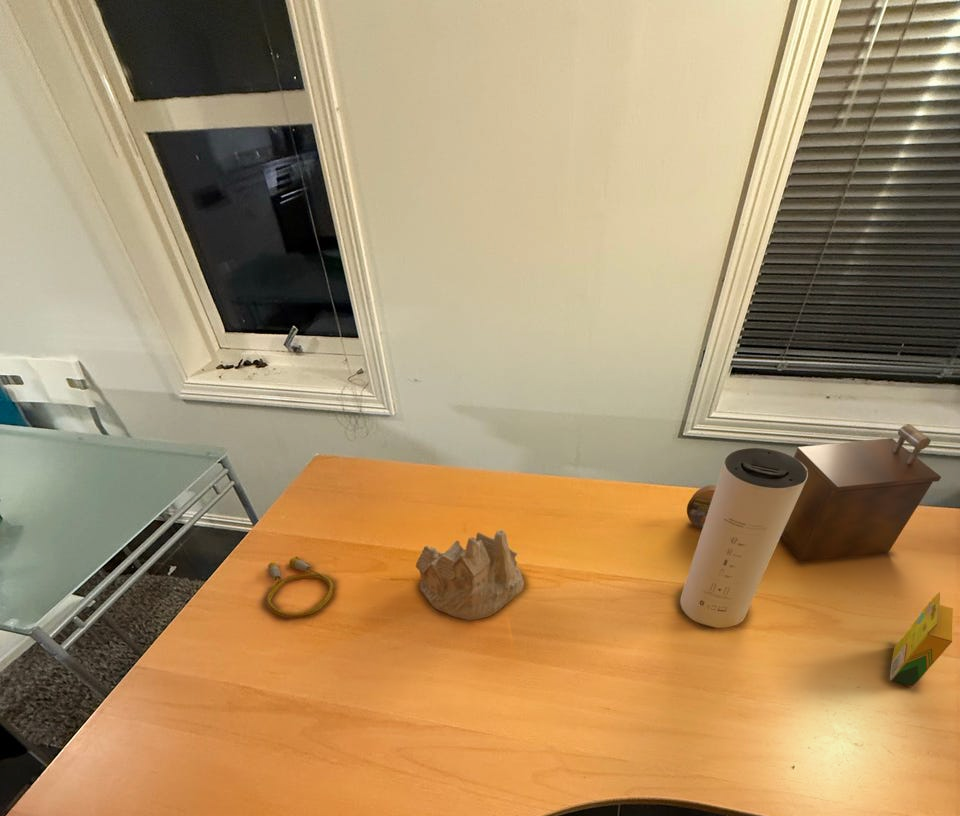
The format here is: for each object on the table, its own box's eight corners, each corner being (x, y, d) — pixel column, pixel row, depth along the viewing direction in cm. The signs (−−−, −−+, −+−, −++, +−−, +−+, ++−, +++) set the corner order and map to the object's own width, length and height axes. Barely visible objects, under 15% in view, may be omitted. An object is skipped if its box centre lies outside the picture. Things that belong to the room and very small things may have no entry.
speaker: (756, 603, 90) (821, 457, 70) (731, 640, 84) (794, 494, 65) (695, 578, 95) (741, 436, 75) (668, 612, 89) (709, 468, 70)
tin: (682, 525, 105) (692, 486, 99) (686, 516, 107) (696, 478, 101) (764, 544, 100) (781, 505, 94) (767, 535, 102) (783, 495, 95)
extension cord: (335, 558, 104) (333, 549, 102) (332, 614, 93) (329, 606, 92) (271, 566, 103) (267, 558, 101) (260, 624, 92) (256, 616, 91)
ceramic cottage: (536, 586, 95) (532, 513, 84) (464, 635, 89) (448, 562, 78) (480, 550, 104) (469, 480, 93) (411, 592, 98) (391, 522, 87)
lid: (889, 442, 94) (906, 411, 90) (938, 481, 86) (959, 449, 82) (795, 451, 94) (808, 421, 90) (835, 491, 85) (850, 459, 81)
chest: (847, 513, 105) (884, 443, 94) (887, 554, 96) (933, 482, 86) (767, 521, 104) (795, 451, 94) (800, 563, 96) (835, 491, 85)
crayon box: (912, 689, 77) (961, 632, 68) (888, 681, 78) (934, 624, 69) (916, 654, 81) (963, 597, 72) (893, 647, 82) (937, 590, 73)
